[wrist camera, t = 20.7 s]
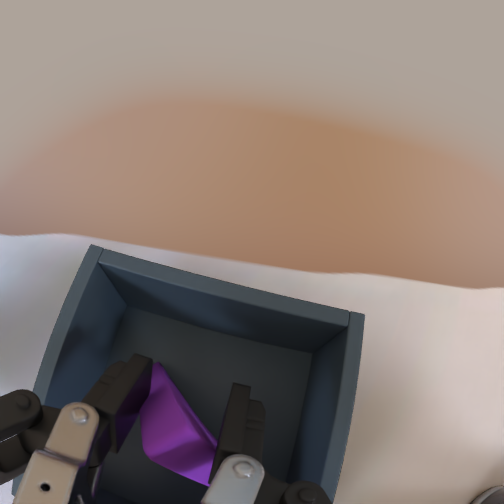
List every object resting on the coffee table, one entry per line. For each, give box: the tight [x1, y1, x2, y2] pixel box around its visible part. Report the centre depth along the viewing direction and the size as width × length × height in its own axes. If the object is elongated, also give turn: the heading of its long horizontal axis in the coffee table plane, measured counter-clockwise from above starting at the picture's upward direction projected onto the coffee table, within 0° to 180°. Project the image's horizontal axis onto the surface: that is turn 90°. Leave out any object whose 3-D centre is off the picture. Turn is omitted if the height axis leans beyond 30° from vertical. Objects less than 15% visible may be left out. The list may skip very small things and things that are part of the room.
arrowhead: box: [139, 362, 218, 486], centre depth 13 cm, size 10×2×10 cm
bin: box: [12, 244, 365, 504], centre depth 14 cm, size 14×14×7 cm
